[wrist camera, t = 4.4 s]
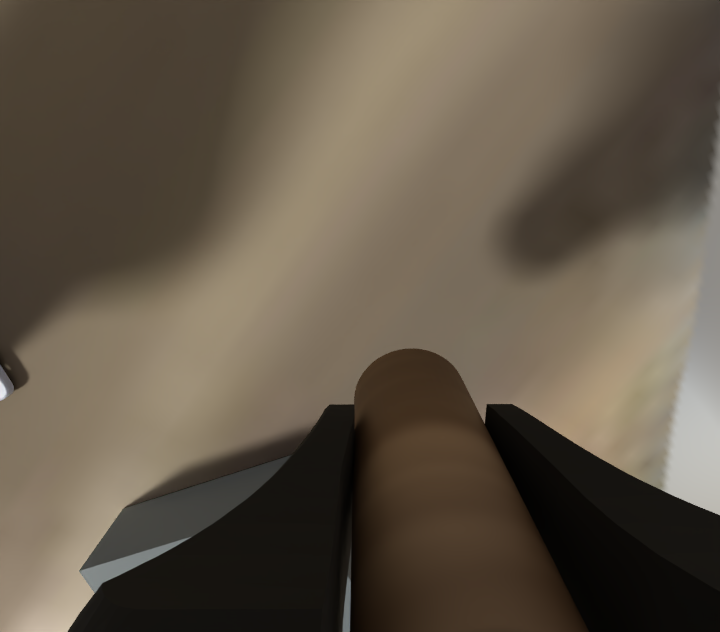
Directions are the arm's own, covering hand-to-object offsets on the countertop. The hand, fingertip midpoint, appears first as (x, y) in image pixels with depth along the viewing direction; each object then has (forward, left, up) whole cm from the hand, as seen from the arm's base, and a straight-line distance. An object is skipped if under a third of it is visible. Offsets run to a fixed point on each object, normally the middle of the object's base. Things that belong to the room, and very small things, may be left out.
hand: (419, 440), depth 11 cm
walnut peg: (0, 0, -2) cm, 2 cm away
